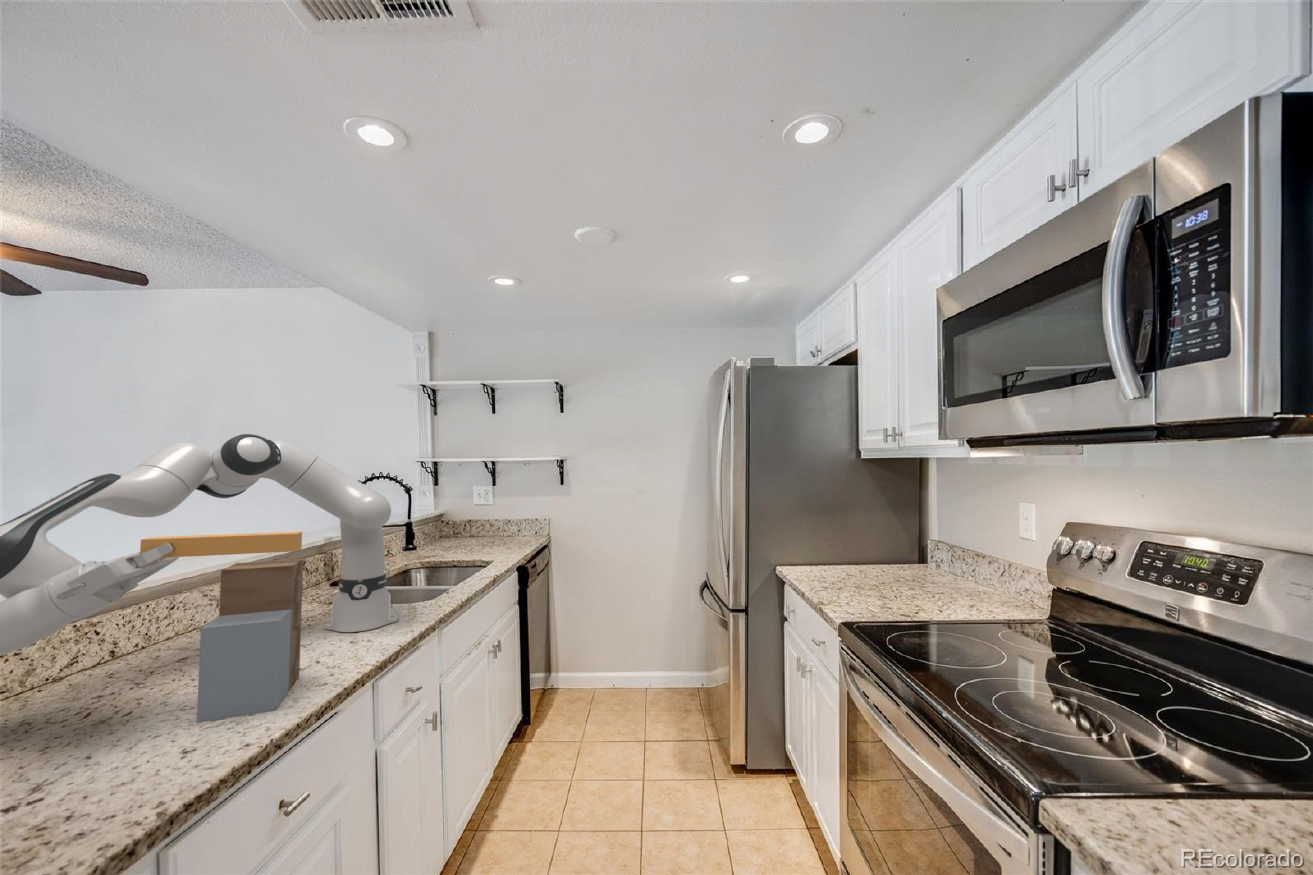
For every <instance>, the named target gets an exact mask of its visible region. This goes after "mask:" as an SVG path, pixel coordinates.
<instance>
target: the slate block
mask: <svg viewBox="0 0 1313 875" xmlns="http://www.w3.org/2000/svg"><path fill="white" fill-rule="evenodd" d="M290 633H291V609H289V610H278V611H267V612H257V613H246V614H235V615H224V616H219V615H218V616H216V618H213V619H212V620H211V621H209V622H208V623H207V624H205V625H203V626H202V627H200V639H199V660H198V662H199V663H198V684H197V685H198V686H197V687H198V688H197V703H196V704H197V707H196V710H197V711H196V723H202V722H208V721H215V720H221V719H227V718H233V717H240V716H246V715H252V714H260V713H261V714H262V713H266V712H273V711H277V709H278V708H279V707H280V706H281V704H282V703H283V701H284V700H285V698H286V697H287V695H288V694H289V692H290V691H289V662H290ZM288 691H289V692H288Z"/></svg>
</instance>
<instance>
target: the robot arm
mask: <svg viewBox="0 0 1313 875" xmlns="http://www.w3.org/2000/svg"><path fill="white" fill-rule="evenodd" d="M260 479H268V480H272V481H274V482H276V483H278V484H279V485H280V486H282V487H284V488H285V489H287V490H289V491H290V492H292V493H294V494H296V495H297V496H300V497H301V498H302V499H305V500H306V501H308V502H310V503H312V504H313V505H315V506H317V507H318V508H321V509H322V510H324V511H326V512H327V513H329V514H331V515H332V516H334V517H335V518H338V519H339V520H340V521H339V524H340V526H339V527H340V542H341V572H340V574H341V577H340V578H339V582H338V592H339V593H338V594H337V595H336V596H335V597H333V599H332V604H331V605H332V606H331V617H330V621H328V622H327V623H325V624H324V626H323V629H324V630H329V631H330V630H331V631H335V632H339V633H354V632H363V631H364V632H365V631H368V630H375V629H377V628H378V629H379V628H381V627H384V626H386V625H388V624H392V623H396V622H398V621H399V618H398V615H397V613H396V610H395V609H394V607H393V604H392V603H391V600H392V599H391V596H392V595H391V593H390V592H389V591H388V590H387V588H386V586H387V574H386V573H385V570H386V569H385V567H386V562H385V561H386V546H385V540H384V533H383V526H384V525H386V524H387V522H388V521H389V519H390V518H391V515H392V507H391V504H390V502H389V501H388V499H387V498H386V497H385V496H384V495H382V494H381V493H379V492H377V491H375V489H372V488H370V487H369V486H367V485H366V484H363V483H362V482H360V481H358V480H356V479H355V478H353V477H352V476H350V475H348V474H346V473H344V472H343V471H341V470H339V469H338V468H336V467H335V466H333V465H331V464H330V463H328V462H327V461H326V460H324V459H322V458H321V457H319V456H317V455H316V454H314V453H312V452H311V451H309V450H307V449H305V448H303V447H301V446H299V445H297V444H294V443H293V442H289V441H287V440H284V439H277V440H276V439H275V440H271V439H267V438H265V437H263V436H260V435H257V434H252V433H251V434H250V433H243V434H239V435H237V436H234V437H233V436H232V438H229V439H228V440H226V442H225V443H223V445H221V446H220V447H219V448H218V449H217V450H216V451H212V450H206V449H205V448H204V447H202V446H200V445H197V444H196V443H192V442H185V441H181V442H175V443H173V444H170V445H168V446H167V447H164V448H163V449H161V450H159V451H157V452H156V453H154V454H152V455H151V456H149V457H148V458H147V459H145V460H144V461H142V462H141V463H140V464H138V465H137V466H136V467H134V468H133V469H132V470H130V471H128V472H126V473H122V474H116V473H106V474H101V475H96V476H95V477H92V478H90V479H87V480H85V481H83V482H81V483H78V484H77V485H74V486H73V487H71V488H69V489H67V490H64V491H62V492H61V493H60V494H57V495H56V496H54V497H52V498H50V499H48V500H46V501H45V502H43V503H41V504H39V505H37V506H36V507H34V508H31V509H30V510H28V511H26V512H24V513H22V514H20V515H18V516H17V517H14V518H13V519H10V520H8V521H7V522H4V523H1V524H0V596H2V597H4V598H5V599H4V600H3V601H1V602H0V656H2V655H5V654H7V655H8V654H10V653H13V652H15V651H18V650H21V649H23V648H26V647H28V646H31V645H33V644H35V643H38V642H39V641H42V640H43V639H45V638H48V637H50V636H51V635H54V634H55V633H57V632H59V631H61V630H62V629H64V628H65V627H66V626H67V625H68V624H70V623H73V622H76V621H80V620H83V619H85V618H87V617H89V616H91V615H93V614H95V613H97V612H99V611H101V610H103V609H105V608H107V607H110V606H112V605H113V604H115V603H117V602H119V601H120V600H121V599H122V597H123V596H125V595H126V594H127V593H129V592H130V591H132V590H134V589H135V588H137V587H138V586H139V583H141V582H142V581H144V580H146V579H147V578H150V577H151V576H153V575H154V574H157V573H158V572H160V571H161V570H163V569H165V568H166V567H168V566H170V565H171V564H173V563H175V562H176V561H177V560H178V559H179V558H180V557H170V558H160V557H162V556H164V555H167V554H169V553H171V552H173V551H175V549H176V548H175V546H174V545H173V544H172V543H166V544H163V545H161V546H159V547H157V548H154V549H152V550H149V551H147V552H144V553H140V551H139V552H135V553H131V554H128V555H124V556H120V557H118V558H114V559H111V560H108V561H107V560H106V561H104V560H103V561H96V560H95V561H94V560H87V561H84V562H81V561H80V560H78V559H76V558H75V557H73V556H72V555H69V553H67V552H65V551H63V549H61V548H59V547H57V545H55V544H53V543H52V542H50V541H49V540H48V539H47V533H49V531H51V530H52V529H54V528H56V527H57V526H59V525H60V524H63V523H64V522H66V521H67V520H69V519H71V518H72V517H74V516H76V515H77V514H79V513H81V512H83V511H85V510H86V509H88V508H90V507H96V508H101V509H105V510H108V511H111V512H115V513H117V514H121V515H125V516H129V517H134V518H135V517H136V518H155V517H160V516H163V515H166V514H168V513H170V512H171V511H173V510H174V509H176V508H178V507H179V506H180V505H181V504H182V503H183V502H184V501H185V500H186V499H187V498H188V497H189V496H190V495H191V494H192V493H193V492H194V491H195V490H196V491H200V492H203V493H205V494H206V495H209V496H211V497H214V498H218V499H231V498H234V497H236V496H239V495H241V494H243V493H244V492H246V491H247V490H248V488H251V487H252V486H253V485H254V484H256V483H257V482H258V481H259V480H260Z"/></svg>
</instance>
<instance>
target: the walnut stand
mask: <svg viewBox="0 0 1313 875" xmlns="http://www.w3.org/2000/svg"><path fill="white" fill-rule="evenodd" d="M303 572H304V558H297V559H294V558H293V559H283V560H282V559H280V560H279V559H278V560H265V561H262V560H261V561H250V562H249V561H248V562H237V563H234V564H232V565H230V566H228V567H226V568H223V569H221V571H220V588H219V589H220V590H219V591H220V592H219V613H218V616H224V615H235V614H246V613H257V612H267V611H278V610H289V609H291V633H290V662H289V691H288V693H290V691H291V690H292V688H293V687H294V685H295V684H296V683H297V681H298V680H299V679H300V667H301V666H300V663H301V639H302V638H301V636H302V635H301V634H302V633H301V632H302V604H303V601H302V600H303V575H304V574H303Z"/></svg>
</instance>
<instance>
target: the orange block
mask: <svg viewBox="0 0 1313 875" xmlns="http://www.w3.org/2000/svg"><path fill="white" fill-rule="evenodd" d="M166 543H172V544H173V545H174V546H175V548H176V549H175V551H173V552H171V553H169V554H167V555H164V556H162V557H160V558H170V557H179V558H185V557H189V558H190V557H205V556H206V557H208V556H211V557H212V556H226V555H230V556H231V555H248V554H267V553H268V554H269V553H287V552H298V551H299V550H301V549H302V545H303V544H302V543H303V531H285V532H283V531H282V532H278V531H277V532H257V533H255V532H254V533H252V532H251V533H232V534H231V533H230V534H229V533H226V534H224V533H223V534H202V535H200V534H199V535H197V534H196V535H175V536H174V535H171V536H150V537H146V538H143V539H140V546H139V547H140V549H139V552H140V553H144V552H147V551H149V550H152V549H154V548H157V547H159V546H161V545H163V544H166Z"/></svg>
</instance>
